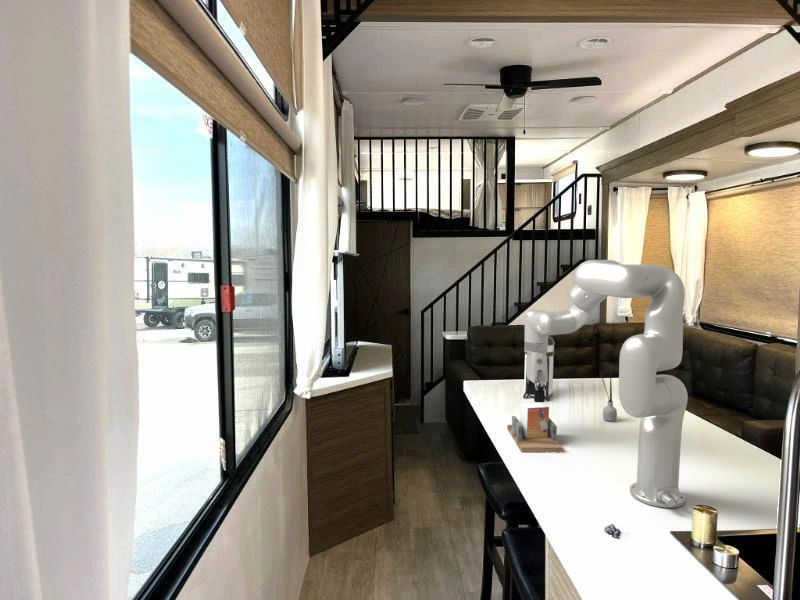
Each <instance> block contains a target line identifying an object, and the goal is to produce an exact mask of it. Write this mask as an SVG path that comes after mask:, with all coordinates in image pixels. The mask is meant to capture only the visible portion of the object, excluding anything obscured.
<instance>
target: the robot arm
mask: <svg viewBox="0 0 800 600" xmlns="http://www.w3.org/2000/svg"><path fill="white" fill-rule="evenodd" d="M574 280H575V284H574V286H573V287H571V289H570V291H569V296H570V299H571V301H572V302H573V305H572V306H570V307H568V308H567V309H566V310H565V309H564V310H553V311H546V310H543V309H542V310H541V309H529V310H527V311H525V313H524V347H523V348H524V353H525V352H527V361H526V375H527V395H534V396H533V399H534V400H533V401H534V403H540V402H541V403H545V401H546V400H545V387H544V386H545V384H544V383H547V382H548V373H547V356H546V353H547V352H548V336H557V335H568V334H572V333H574V332H576V331H578V330H579V329H580V328H582V327H583V326H584V325H586V324H587V323H588V322H589V321H590V320H591V318H592V316H593V313H594V309H595V308H596V307H597V306H598V305H599V304H601V302H603V301H605V299H607V298H608V297H612V298H613V297H614V298H619V299H620V298H621V299H635V298H636V299H637V298H638V299H639V298H649V299H650V301H649V303H648V306H647V307H646V310H645V315H644V331H643V333H640V334H636V335H635V334H634V335H632V336H630V337H629V338H627V339H626V340H625V341H624V343H622V346H621V349H620V351H619V359H618V360H619V363H618V364H619V367H618V368H619V369H618V397H619V402H620V406H621V407H622V409H623V410H624V411H625V412H626V414H628V415H629V416H631V417H633V418H636V419H640V422H639V428H638V431H639V432H638V448H637V449H638V450H637V466H636V467H637V470H636V482H634V483H632V484H631V485H629V493H630V495H631V496H632V497H633V498H634V499H636V500H637V501H639V502H641V503H644V504H647V505H649V506H654V507H658V508H668V509H671V508H679V507H682V506H683V505H684V504H685V502H686V497H685V495H684V494H683V493H682V492H681V491H680V490H679V489H680V488H679V485H680V484H679V483H680V465H681V464H680V462H681V447H682V446H681V444H682V443H681V442H682V433H683V422H684V417H685V413H686V410H687V406H688V399H689V398H688V391H687V388H686V386H685V384H684V383H683V382H682V380H681V379H679V378H678V377H676V376H674V375H670V374H657V372H663V371H664V372H665V371H668V370H673V369H674V368H676V367H678V366H679V365H680V364H681V362H682V358H683V351H684V350H683V347H684V346H683V344H684V343H683V342H684V341H683V338H684V307H685V299H686V298H685V297H686V295H685V293H686V292H685V286H684V283H683V281H682V279H681V277H680V275H678V274H677V273H676V271H674V270H673V269H671V268H669V267H667V266H664V265H659V264H648V263H647V264H645V263H643V264H640V263H639V264H622V263H621V262H619V261H616V260H612V259H589V260H585V261H584V262H582V263H580V265H578V267H577V269H576V270H575V274H574ZM537 384H538V386H537Z"/></svg>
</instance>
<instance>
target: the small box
mask: <svg viewBox="0 0 800 600" xmlns="http://www.w3.org/2000/svg"><path fill="white" fill-rule="evenodd" d="M549 416H550V407H549V406H548V405H546V404H545V403H544V402H532V403H520V404H519V422H520V423H521V425H522V436H524V437H525V438H527V439H528V438H547V437H548V423H549V418H550V417H549Z"/></svg>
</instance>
